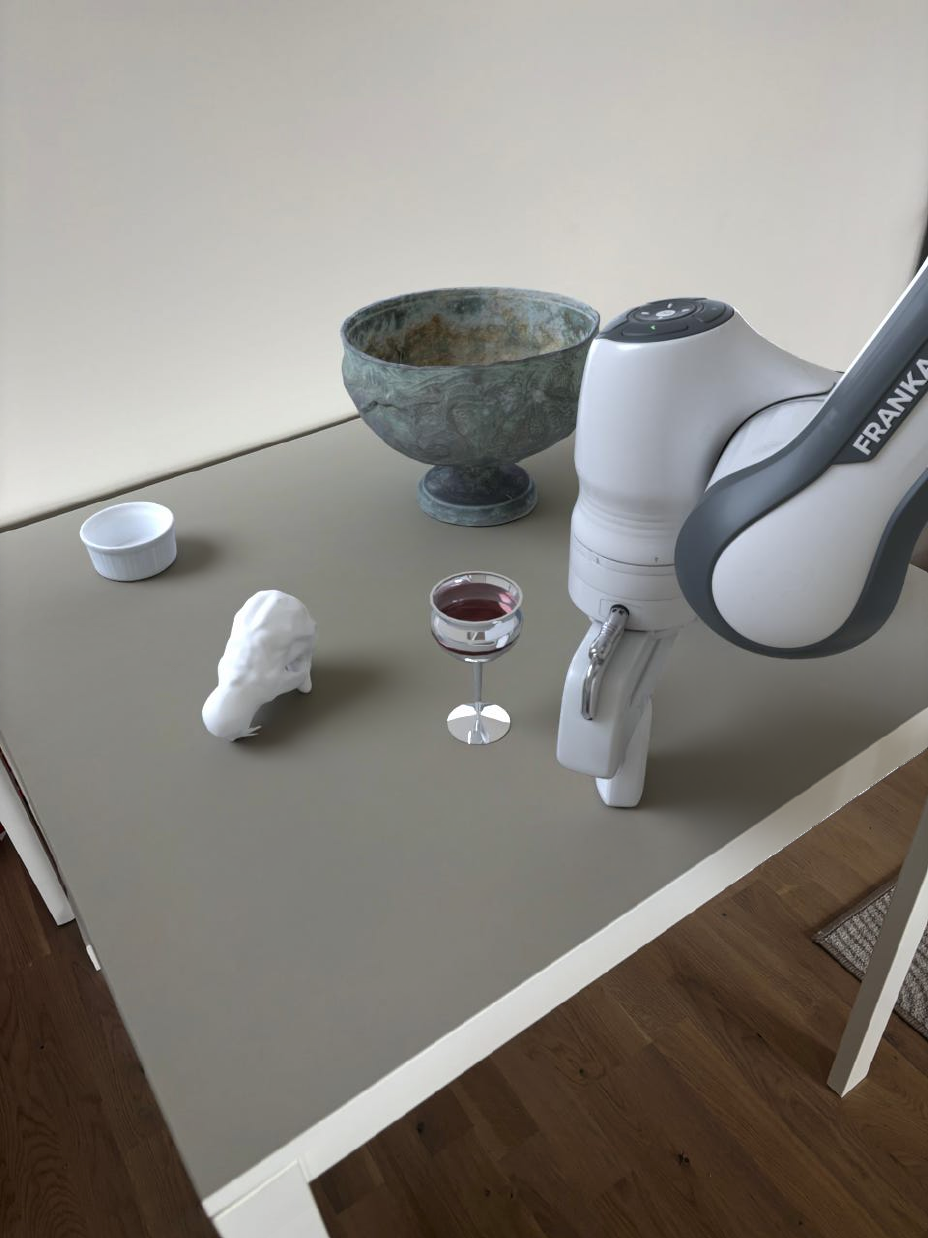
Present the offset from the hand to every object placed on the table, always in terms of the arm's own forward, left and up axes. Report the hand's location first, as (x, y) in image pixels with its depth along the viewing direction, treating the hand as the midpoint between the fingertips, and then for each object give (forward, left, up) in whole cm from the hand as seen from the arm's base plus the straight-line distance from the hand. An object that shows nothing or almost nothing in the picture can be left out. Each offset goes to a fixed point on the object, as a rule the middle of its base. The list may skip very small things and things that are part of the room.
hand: (624, 734), depth 68 cm
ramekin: (+53, -11, -5) cm, 54 cm away
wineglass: (+12, -2, -5) cm, 13 cm away
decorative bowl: (+27, -36, -5) cm, 45 cm away
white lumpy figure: (+29, +3, -5) cm, 30 cm away
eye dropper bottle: (0, 0, -5) cm, 5 cm away
